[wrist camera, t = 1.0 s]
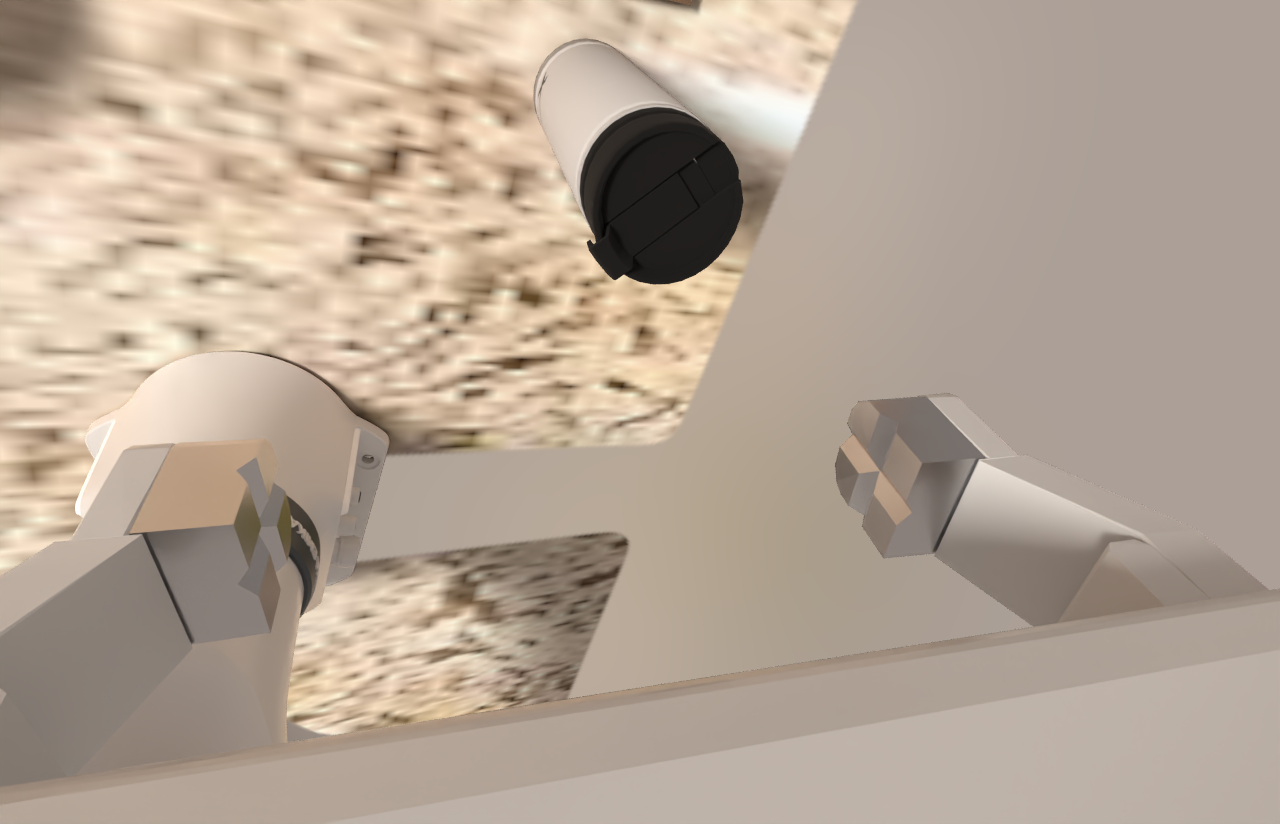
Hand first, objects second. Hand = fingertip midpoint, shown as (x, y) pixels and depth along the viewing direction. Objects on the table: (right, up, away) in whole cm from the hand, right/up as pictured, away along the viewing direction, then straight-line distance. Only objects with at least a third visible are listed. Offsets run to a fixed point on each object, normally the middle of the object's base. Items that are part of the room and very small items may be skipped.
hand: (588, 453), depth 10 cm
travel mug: (-3, +19, +32) cm, 38 cm away
